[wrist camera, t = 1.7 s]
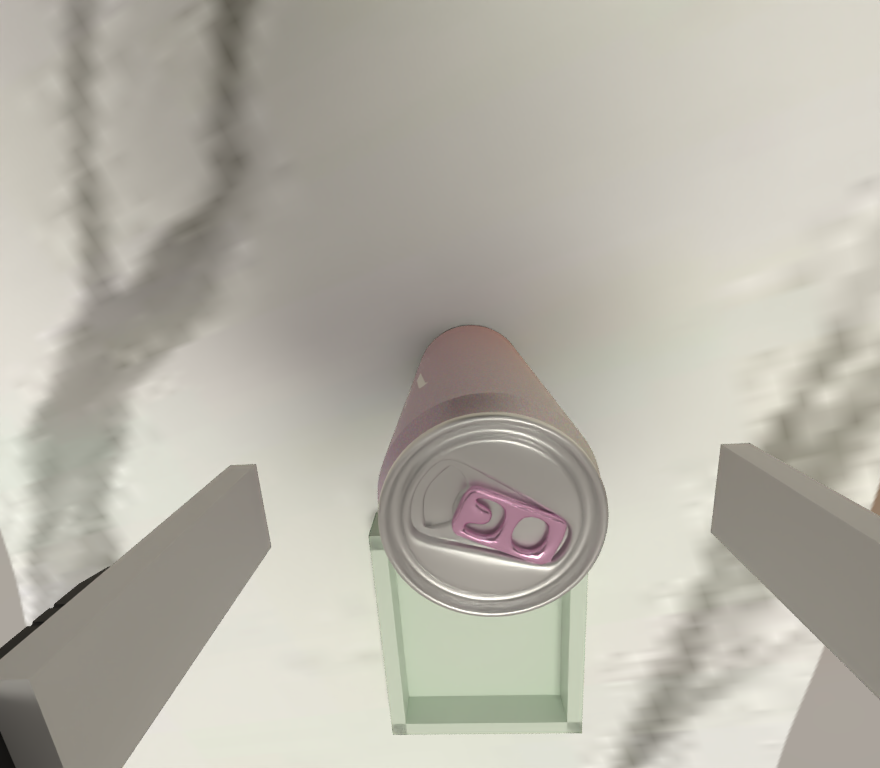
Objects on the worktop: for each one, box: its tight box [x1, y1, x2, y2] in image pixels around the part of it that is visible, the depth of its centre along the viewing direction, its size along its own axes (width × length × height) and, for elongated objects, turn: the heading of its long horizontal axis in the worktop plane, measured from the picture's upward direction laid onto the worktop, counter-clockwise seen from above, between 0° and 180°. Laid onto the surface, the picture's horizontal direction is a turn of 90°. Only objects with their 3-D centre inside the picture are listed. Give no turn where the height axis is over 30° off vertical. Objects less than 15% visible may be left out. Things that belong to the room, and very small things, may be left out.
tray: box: [369, 513, 588, 735], centre depth 28 cm, size 16×13×2 cm
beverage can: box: [378, 325, 608, 617], centre depth 17 cm, size 6×6×15 cm
